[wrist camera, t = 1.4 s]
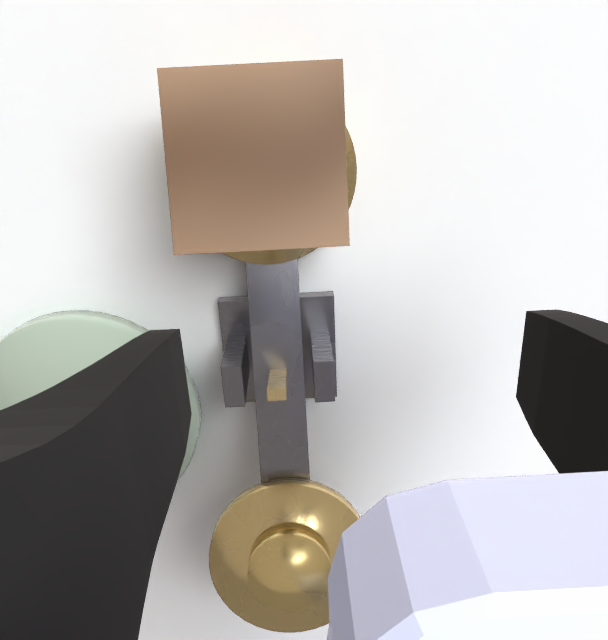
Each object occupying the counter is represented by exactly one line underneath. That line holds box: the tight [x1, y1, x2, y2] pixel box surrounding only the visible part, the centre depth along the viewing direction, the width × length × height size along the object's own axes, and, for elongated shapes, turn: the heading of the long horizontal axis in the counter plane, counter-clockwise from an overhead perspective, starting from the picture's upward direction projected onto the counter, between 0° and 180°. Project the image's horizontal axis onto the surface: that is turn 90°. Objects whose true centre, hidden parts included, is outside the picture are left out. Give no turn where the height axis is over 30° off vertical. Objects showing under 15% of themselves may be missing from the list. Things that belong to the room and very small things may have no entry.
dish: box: [0, 311, 201, 479], centre depth 23 cm, size 9×9×1 cm
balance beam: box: [209, 126, 360, 632], centre depth 20 cm, size 20×6×3 cm, turn 2°
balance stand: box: [218, 291, 337, 407], centre depth 21 cm, size 4×4×3 cm
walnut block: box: [157, 59, 350, 255], centre depth 16 cm, size 4×4×4 cm
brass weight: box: [247, 522, 331, 614], centre depth 20 cm, size 3×3×1 cm
